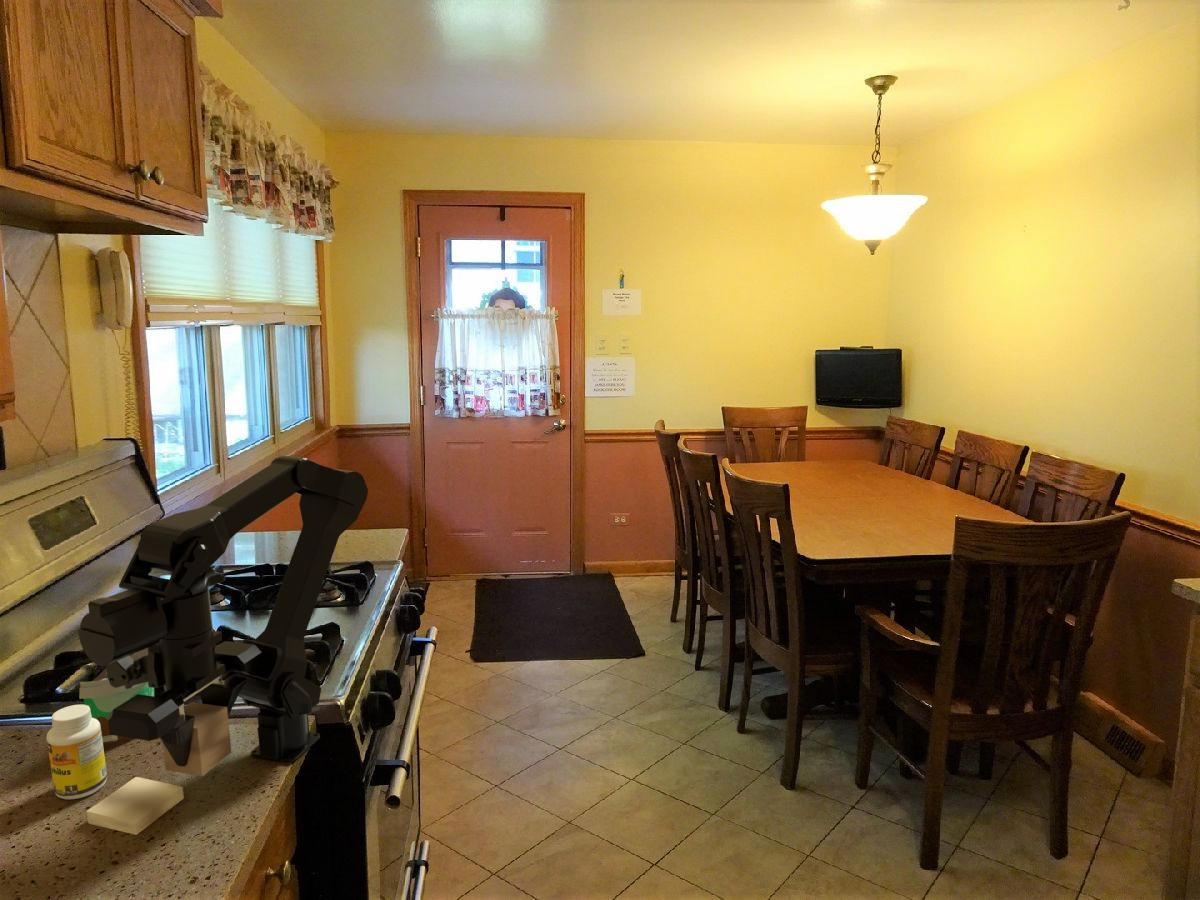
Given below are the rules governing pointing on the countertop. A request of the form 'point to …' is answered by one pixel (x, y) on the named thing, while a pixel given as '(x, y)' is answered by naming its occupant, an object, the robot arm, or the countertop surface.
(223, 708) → the walnut cube
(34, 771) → the countertop surface
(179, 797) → the birch block
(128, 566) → the robot arm
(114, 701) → the food container
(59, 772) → the supplement bottle
